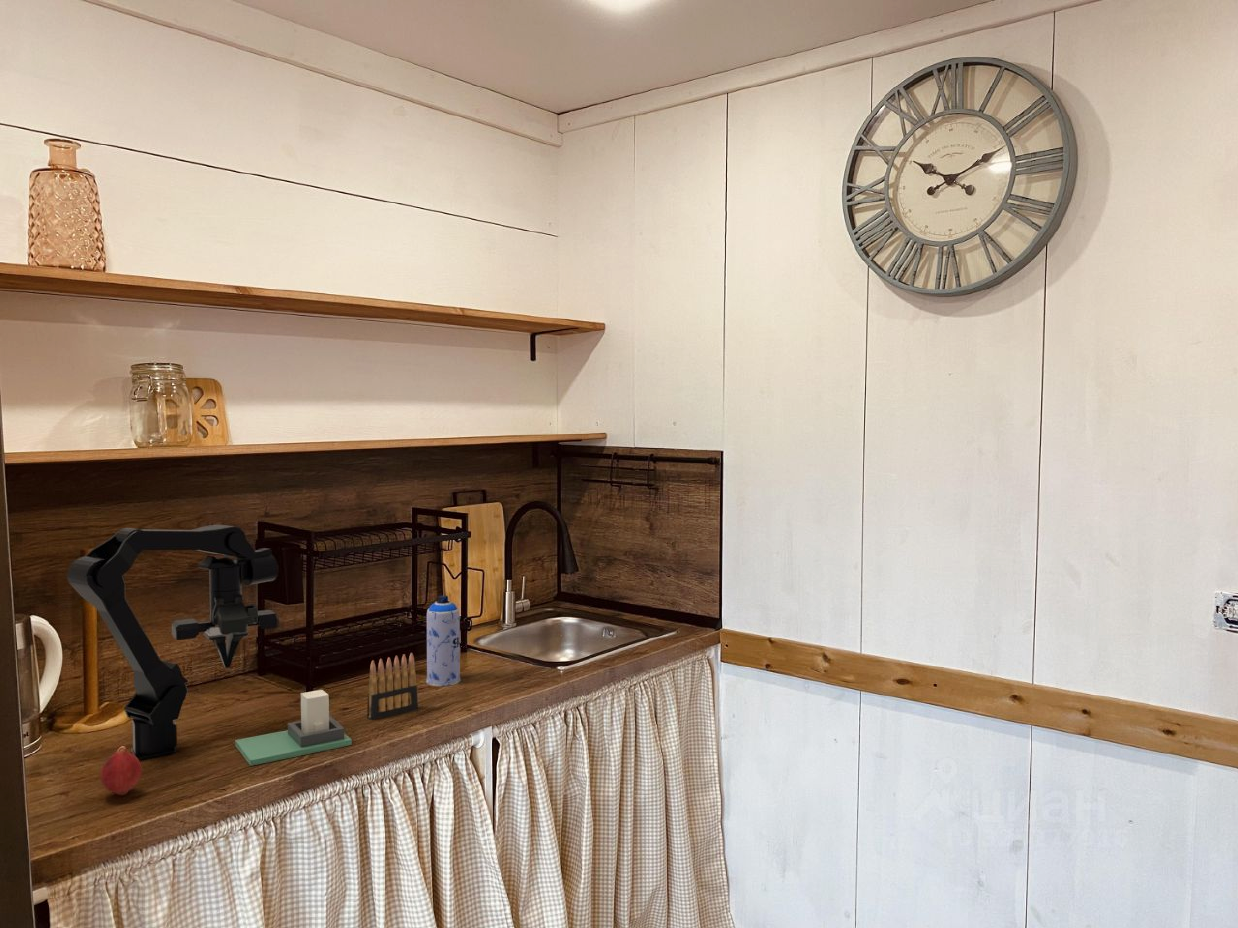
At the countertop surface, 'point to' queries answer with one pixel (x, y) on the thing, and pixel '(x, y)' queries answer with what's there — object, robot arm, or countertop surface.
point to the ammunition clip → (392, 689)
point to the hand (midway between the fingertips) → (227, 667)
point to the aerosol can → (443, 643)
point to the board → (291, 743)
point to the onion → (121, 772)
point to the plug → (314, 711)
